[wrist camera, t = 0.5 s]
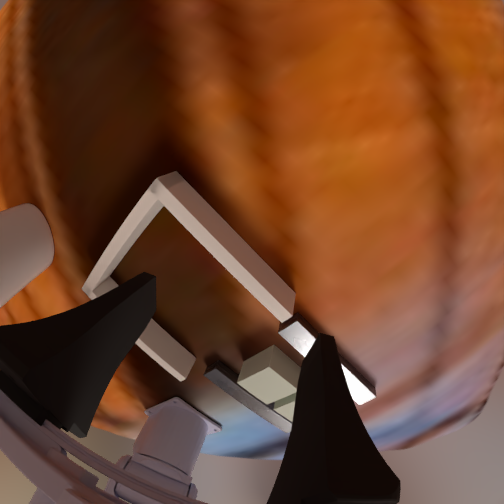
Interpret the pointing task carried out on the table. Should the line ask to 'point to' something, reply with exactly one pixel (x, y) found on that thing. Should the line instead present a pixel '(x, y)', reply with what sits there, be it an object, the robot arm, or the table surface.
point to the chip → (269, 375)
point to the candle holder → (23, 248)
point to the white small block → (286, 406)
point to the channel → (302, 341)
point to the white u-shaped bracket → (213, 239)
